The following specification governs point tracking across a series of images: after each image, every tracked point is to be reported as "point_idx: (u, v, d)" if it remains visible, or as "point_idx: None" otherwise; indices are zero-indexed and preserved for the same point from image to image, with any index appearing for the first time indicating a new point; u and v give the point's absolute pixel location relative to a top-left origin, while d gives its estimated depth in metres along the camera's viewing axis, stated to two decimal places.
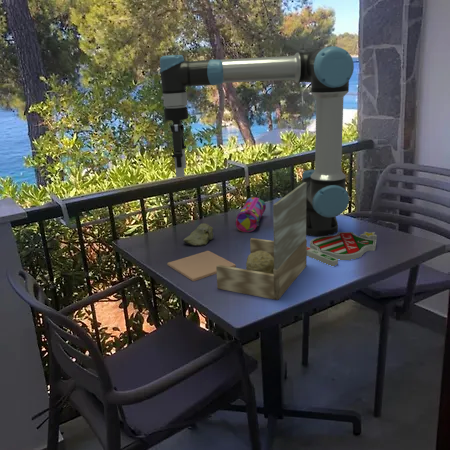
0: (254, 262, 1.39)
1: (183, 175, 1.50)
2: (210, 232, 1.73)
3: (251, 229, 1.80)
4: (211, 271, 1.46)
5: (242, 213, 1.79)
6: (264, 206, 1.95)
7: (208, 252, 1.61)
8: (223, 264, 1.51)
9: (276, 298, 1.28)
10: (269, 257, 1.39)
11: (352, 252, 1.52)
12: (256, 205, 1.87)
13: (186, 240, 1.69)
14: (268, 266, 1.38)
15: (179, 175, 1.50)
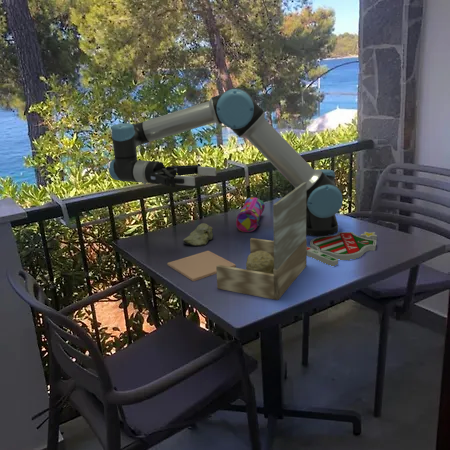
0: (254, 262, 1.39)
1: (191, 178, 1.43)
2: (210, 232, 1.73)
3: (251, 229, 1.80)
4: (211, 271, 1.46)
5: (242, 213, 1.78)
6: (263, 206, 1.95)
7: (208, 252, 1.61)
8: (223, 264, 1.51)
9: (276, 298, 1.28)
10: (269, 257, 1.39)
11: (352, 252, 1.52)
12: (255, 205, 1.88)
13: (186, 240, 1.69)
14: (268, 266, 1.38)
15: (191, 182, 1.43)
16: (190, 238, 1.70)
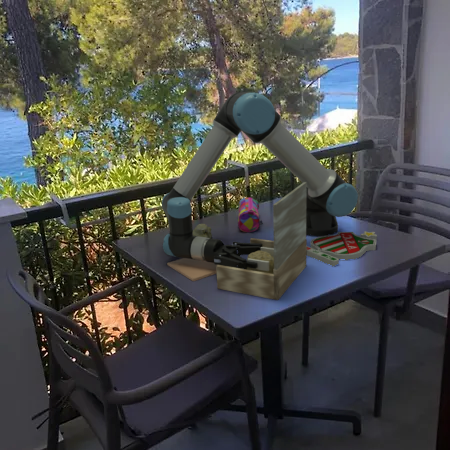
0: None
1: (266, 263, 1.35)
2: (209, 232, 1.73)
3: (254, 229, 1.80)
4: (211, 271, 1.46)
5: (245, 213, 1.78)
6: (258, 205, 1.96)
7: None
8: None
9: (276, 298, 1.28)
10: (269, 257, 1.39)
11: (352, 252, 1.52)
12: (253, 205, 1.88)
13: None
14: None
15: (266, 267, 1.35)
16: None
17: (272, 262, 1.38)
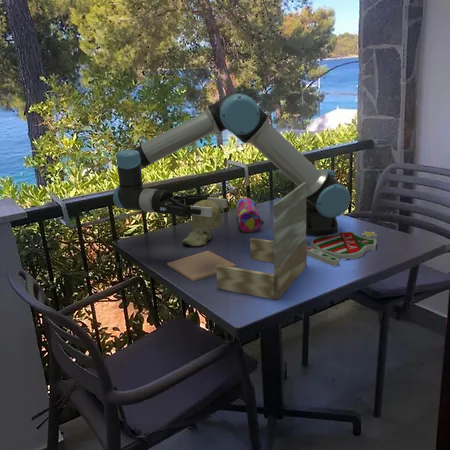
0: None
1: (209, 209, 1.37)
2: (208, 232, 1.73)
3: (255, 228, 1.80)
4: (211, 271, 1.46)
5: (246, 213, 1.78)
6: (255, 205, 1.97)
7: (208, 252, 1.61)
8: (223, 264, 1.51)
9: (276, 298, 1.28)
10: (213, 205, 1.41)
11: (352, 252, 1.52)
12: (252, 205, 1.88)
13: (185, 241, 1.68)
14: (212, 213, 1.40)
15: (209, 213, 1.38)
16: (189, 239, 1.69)
17: (216, 210, 1.41)
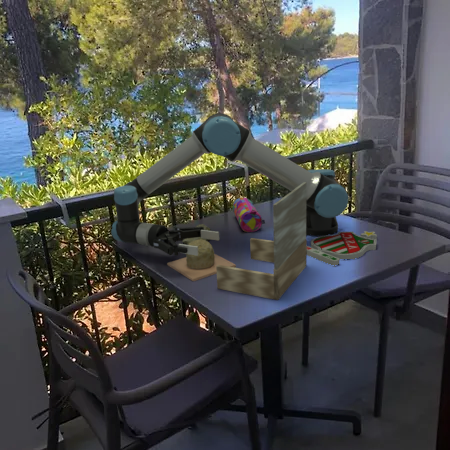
0: None
1: (195, 248, 1.42)
2: None
3: (256, 228, 1.80)
4: (211, 271, 1.46)
5: (247, 213, 1.78)
6: (252, 205, 1.97)
7: None
8: (223, 264, 1.51)
9: (276, 298, 1.28)
10: (206, 245, 1.48)
11: (353, 252, 1.53)
12: (251, 205, 1.88)
13: (185, 241, 1.68)
14: (205, 254, 1.47)
15: (195, 252, 1.43)
16: (189, 239, 1.69)
17: (209, 250, 1.48)
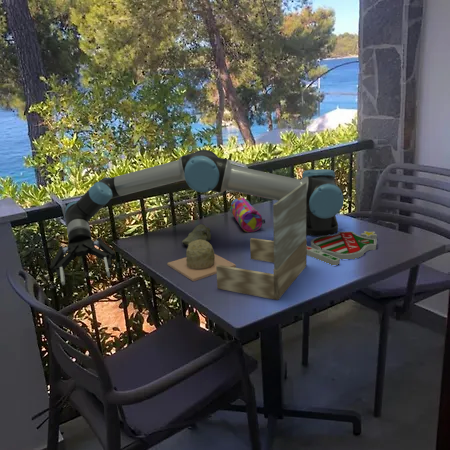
0: (192, 250, 1.48)
1: (61, 281, 1.44)
2: (208, 233, 1.72)
3: (257, 228, 1.81)
4: (211, 271, 1.46)
5: (248, 213, 1.78)
6: None
7: None
8: (223, 264, 1.51)
9: (276, 298, 1.28)
10: (206, 245, 1.48)
11: (353, 252, 1.53)
12: (250, 205, 1.88)
13: (185, 242, 1.67)
14: (205, 254, 1.47)
15: (62, 284, 1.44)
16: (189, 239, 1.68)
17: (209, 250, 1.48)
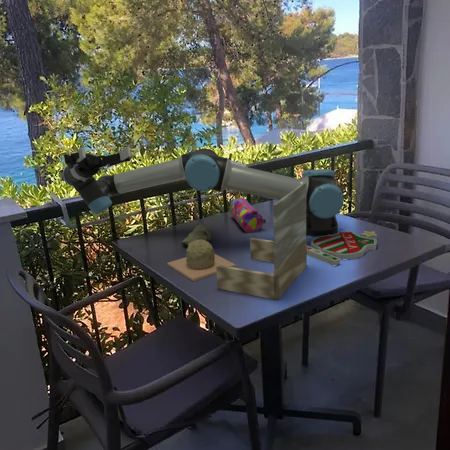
0: (192, 250, 1.48)
1: (81, 149, 1.33)
2: (208, 233, 1.72)
3: (257, 228, 1.81)
4: (211, 271, 1.46)
5: (249, 213, 1.78)
6: None
7: None
8: (223, 264, 1.51)
9: (276, 298, 1.28)
10: (206, 245, 1.48)
11: (353, 252, 1.53)
12: (249, 205, 1.88)
13: (185, 242, 1.67)
14: (205, 254, 1.47)
15: (81, 153, 1.33)
16: (189, 240, 1.68)
17: (209, 250, 1.48)
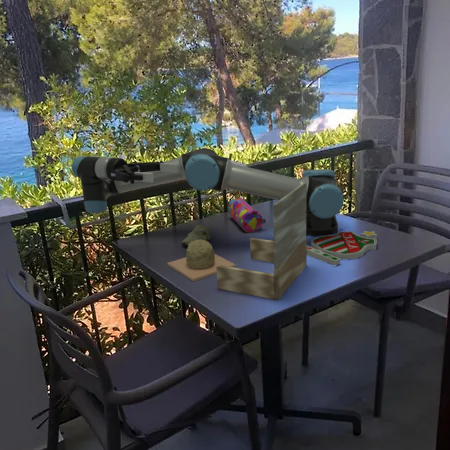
0: (192, 250, 1.48)
1: (150, 174, 1.42)
2: (207, 233, 1.72)
3: (257, 228, 1.81)
4: (211, 271, 1.46)
5: (249, 213, 1.78)
6: None
7: None
8: (223, 264, 1.51)
9: (276, 298, 1.28)
10: (206, 245, 1.48)
11: (353, 252, 1.53)
12: (248, 205, 1.88)
13: (185, 242, 1.67)
14: (205, 254, 1.47)
15: (150, 178, 1.42)
16: (189, 240, 1.68)
17: (209, 250, 1.48)
